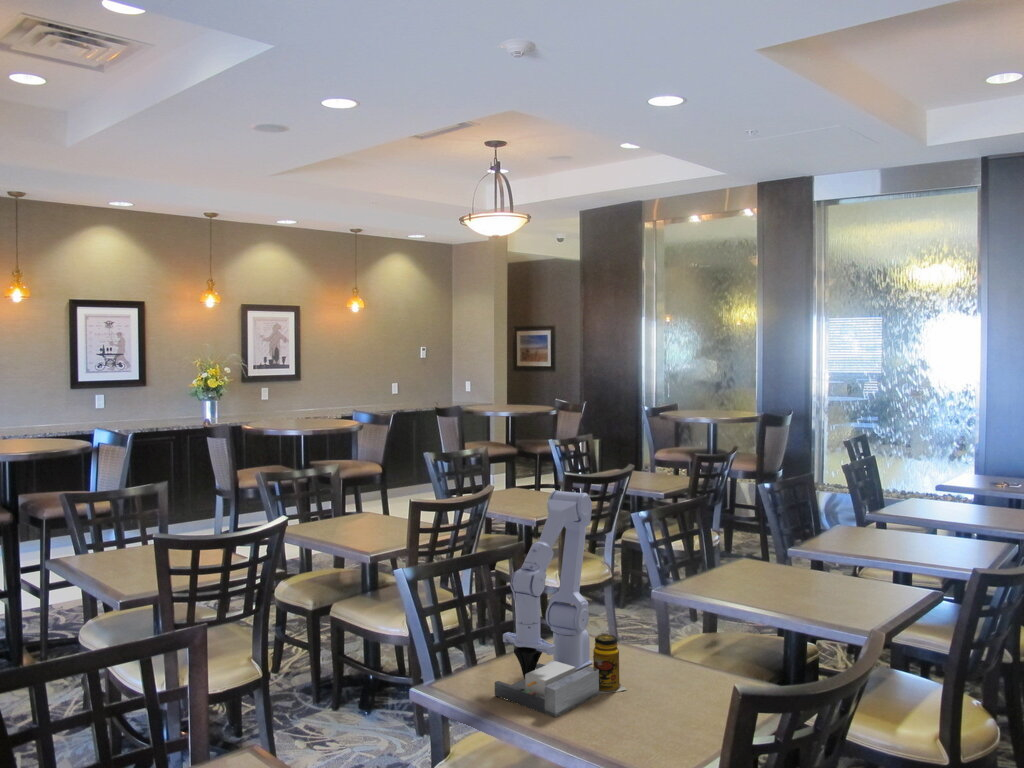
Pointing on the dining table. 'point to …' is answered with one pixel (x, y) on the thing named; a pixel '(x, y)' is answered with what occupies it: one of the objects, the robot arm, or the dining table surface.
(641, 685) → the dining table surface
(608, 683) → the condiment
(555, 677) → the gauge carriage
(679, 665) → the dining table surface
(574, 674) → the gauge frame
